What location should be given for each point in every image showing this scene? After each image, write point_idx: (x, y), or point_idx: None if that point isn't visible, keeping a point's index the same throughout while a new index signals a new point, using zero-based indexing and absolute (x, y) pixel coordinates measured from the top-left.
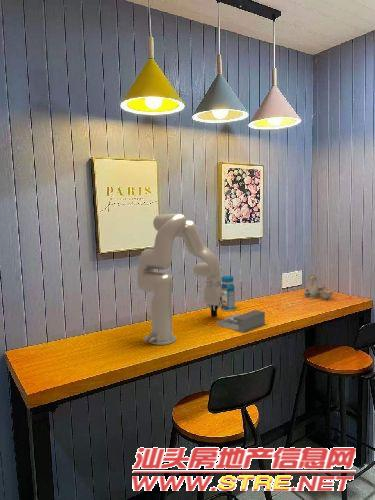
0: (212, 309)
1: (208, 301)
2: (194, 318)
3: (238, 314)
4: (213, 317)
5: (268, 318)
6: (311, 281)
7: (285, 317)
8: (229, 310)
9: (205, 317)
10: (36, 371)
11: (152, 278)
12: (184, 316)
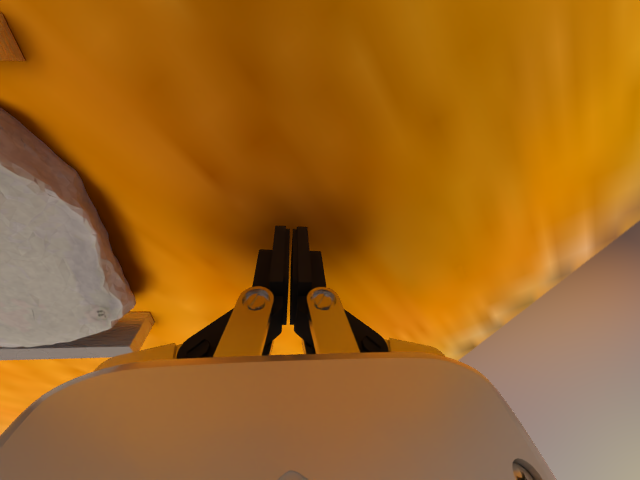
0: (299, 300)
1: (365, 440)
2: (482, 131)
3: (110, 354)
4: (276, 226)
5: (33, 392)
6: None
7: (9, 424)
8: None
9: (383, 222)
10: None
11: None
12: (619, 131)
